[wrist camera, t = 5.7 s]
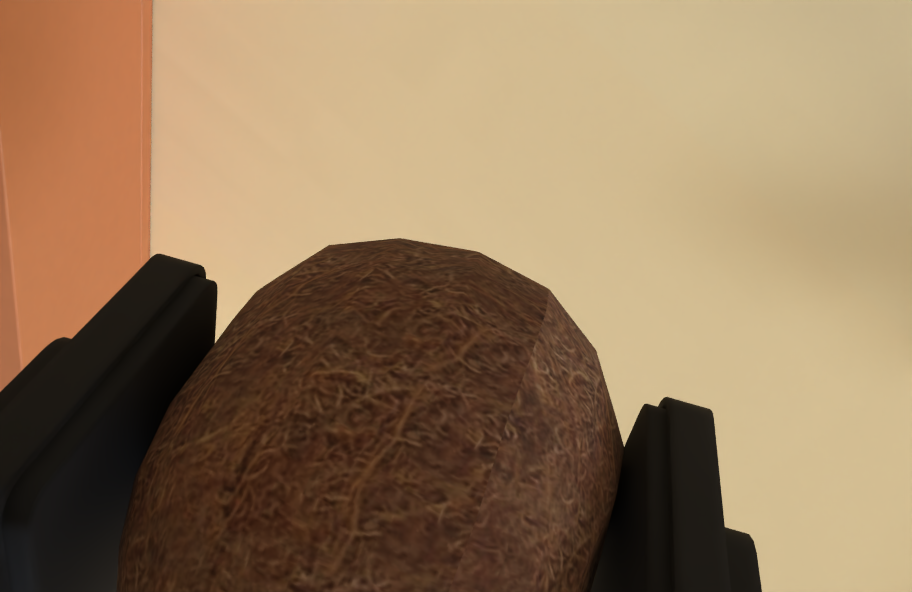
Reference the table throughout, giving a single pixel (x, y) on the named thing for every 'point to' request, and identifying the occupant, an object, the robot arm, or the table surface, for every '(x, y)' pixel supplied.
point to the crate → (70, 165)
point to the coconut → (382, 438)
